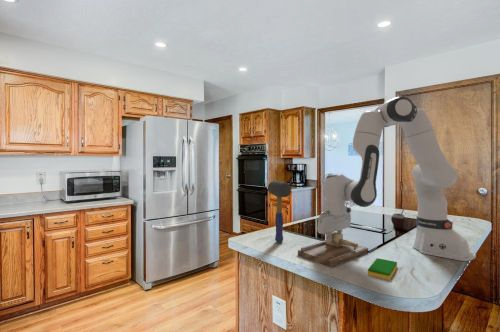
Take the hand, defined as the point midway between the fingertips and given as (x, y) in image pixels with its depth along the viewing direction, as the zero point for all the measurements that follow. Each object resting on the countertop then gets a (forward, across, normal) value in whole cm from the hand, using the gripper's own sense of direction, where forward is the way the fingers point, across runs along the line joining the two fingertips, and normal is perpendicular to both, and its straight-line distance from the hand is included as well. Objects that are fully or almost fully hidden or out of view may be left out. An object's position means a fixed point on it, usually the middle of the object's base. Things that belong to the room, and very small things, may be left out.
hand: (334, 240), depth 125 cm
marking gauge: (+2, 0, -4) cm, 4 cm away
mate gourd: (+4, +61, -1) cm, 61 cm away
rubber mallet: (+4, -12, +23) cm, 26 cm away
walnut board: (+4, -5, -3) cm, 7 cm away
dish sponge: (+5, -6, -25) cm, 26 cm away
